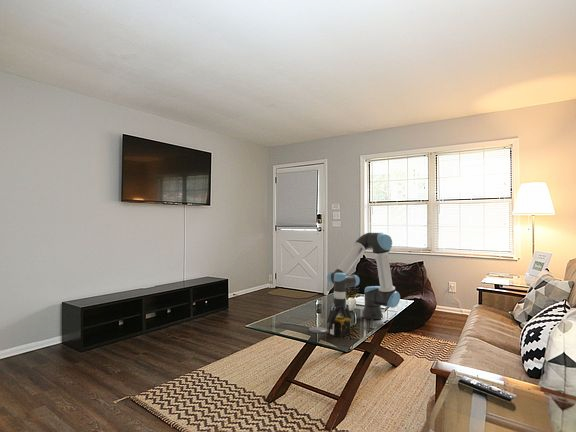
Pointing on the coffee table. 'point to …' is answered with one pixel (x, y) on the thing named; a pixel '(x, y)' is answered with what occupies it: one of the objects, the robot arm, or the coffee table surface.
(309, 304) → the coffee table surface
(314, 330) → the coaster
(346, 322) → the candle
